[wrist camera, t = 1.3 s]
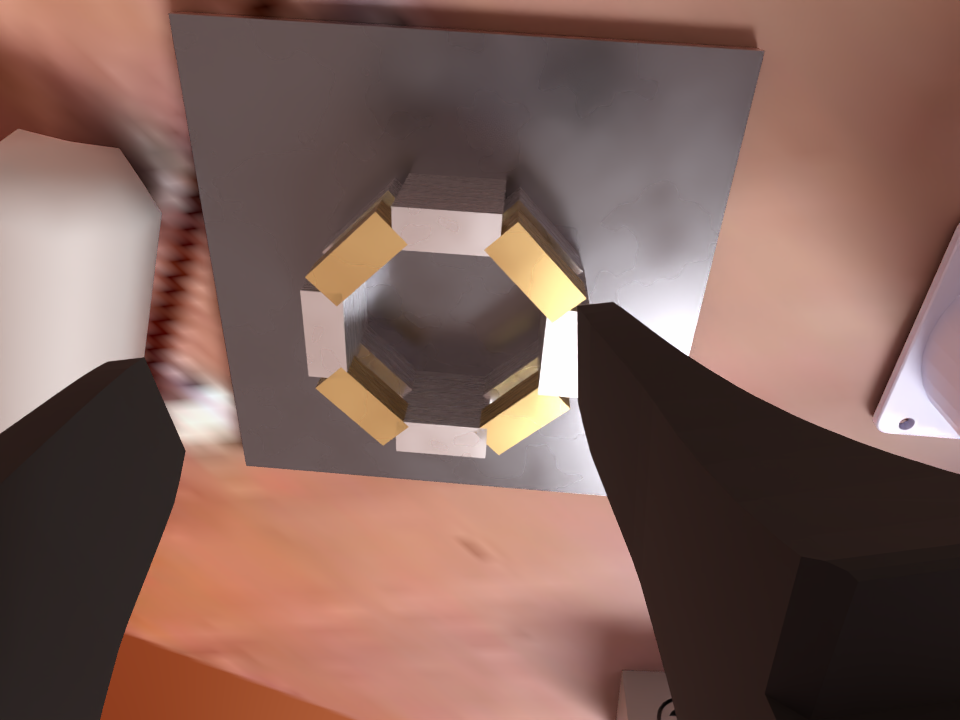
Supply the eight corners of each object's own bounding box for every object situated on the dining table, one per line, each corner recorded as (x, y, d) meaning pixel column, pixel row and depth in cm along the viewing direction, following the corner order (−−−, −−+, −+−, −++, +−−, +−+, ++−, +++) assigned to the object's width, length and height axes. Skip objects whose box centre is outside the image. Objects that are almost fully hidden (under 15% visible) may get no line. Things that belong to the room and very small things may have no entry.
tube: (-107, 107, 17) (-57, 666, 30) (56, 200, 16) (37, 734, 29) (76, 96, 22) (52, 584, 34) (211, 168, 21) (136, 641, 33)
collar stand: (758, 47, 18) (802, 69, 15) (650, 489, 27) (665, 559, 24) (178, 11, 19) (109, 24, 16) (251, 455, 27) (216, 520, 24)
